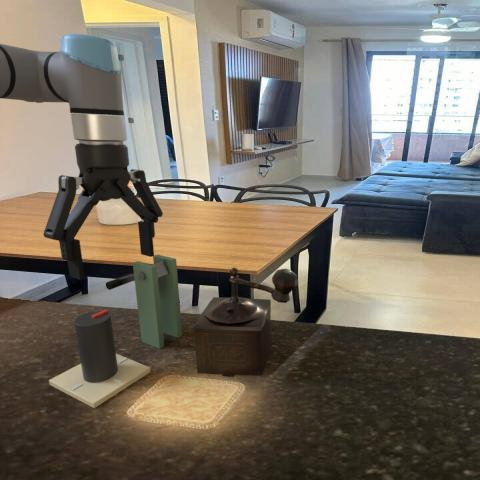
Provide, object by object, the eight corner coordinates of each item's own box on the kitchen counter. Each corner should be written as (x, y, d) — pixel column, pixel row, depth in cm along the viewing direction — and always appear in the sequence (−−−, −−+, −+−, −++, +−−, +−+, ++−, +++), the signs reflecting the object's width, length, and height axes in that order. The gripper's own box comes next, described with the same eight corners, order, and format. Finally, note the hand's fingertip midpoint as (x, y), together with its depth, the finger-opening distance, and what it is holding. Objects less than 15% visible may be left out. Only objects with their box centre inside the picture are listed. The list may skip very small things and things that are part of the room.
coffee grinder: (193, 383, 57) (184, 272, 52) (214, 343, 68) (208, 248, 63) (296, 387, 57) (297, 275, 52) (301, 347, 68) (302, 251, 63)
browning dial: (96, 386, 53) (87, 326, 50) (76, 376, 55) (66, 318, 52) (124, 369, 57) (117, 313, 54) (105, 361, 59) (97, 306, 56)
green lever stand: (121, 349, 65) (109, 263, 61) (163, 326, 73) (155, 248, 69) (162, 366, 61) (153, 274, 57) (202, 340, 69) (197, 258, 65)
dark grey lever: (108, 293, 67) (103, 280, 66) (133, 283, 71) (128, 271, 71) (150, 281, 61) (145, 266, 60) (175, 271, 65) (170, 258, 65)
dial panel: (50, 392, 55) (48, 379, 54) (108, 360, 62) (107, 348, 62) (95, 416, 50) (93, 402, 50) (151, 378, 58) (150, 366, 58)
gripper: (149, 140, 74) (157, 244, 80) (-2, 142, 53) (25, 284, 59) (177, 143, 71) (184, 250, 77) (29, 145, 49) (54, 295, 55)
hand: (115, 265), depth 68 cm, fingers open, 13 cm apart
